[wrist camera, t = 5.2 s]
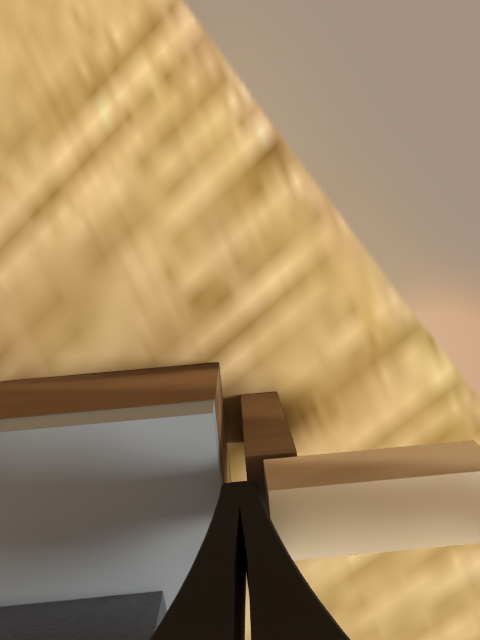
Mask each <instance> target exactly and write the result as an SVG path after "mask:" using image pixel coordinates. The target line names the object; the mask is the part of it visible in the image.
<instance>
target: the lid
mask: <svg viewBox="0 0 480 640" xmlns="http://www.w3.org/2000/svg"><path fill="white" fill-rule="evenodd" d="M222 485H223V476H222V467H221V458H220V449H219V440H218V431H217V422H216V413H215V404H214V400H209V401H198V402H186V403H175V404H164V405H153V406H142V407H131V408H120V409H109V410H97V411H86V412H75V413H64V414H53V415H42V416H31V417H20V418H8V419H0V640H149V639H150V638H151V636H152V635H153V633H154V632H155V630H156V629H157V627H158V626H159V624H160V622H161V621H162V619H163V617H164V616H165V614H166V612H167V611H168V609H169V607H170V606H171V604H172V602H173V600H174V599H175V597H176V595H177V593H178V592H179V590H180V588H181V586H182V584H183V582H184V580H185V579H186V577H187V575H188V573H189V571H190V569H191V567H192V565H193V563H194V560H195V558H196V556H197V554H198V551H199V549H200V547H201V545H202V543H203V540H204V538H205V536H206V533H207V530H208V528H209V525H210V523H211V520H212V517H213V514H214V511H215V508H216V505H217V502H218V499H219V495H220V490H221V486H222Z"/></svg>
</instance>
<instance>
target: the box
mask: <svg viewBox="0 0 480 640" xmlns="http://www.w3.org/2000/svg"><path fill="white" fill-rule="evenodd" d="M209 400H214V404H215V413H216V422H217V431H218V440H219V449H220V458H221V467H222V476H223V484H224V483H231V474H230V464H229V454H228V445H227V435H226V425H225V416H224V406H223V396H222V387H221V377H220V367H219V362H218V363H207V364H195V365H184V366H173V367H161V368H150V369H139V370H127V371H116V372H104V373H93V374H82V375H70V376H59V377H48V378H36V379H25V380H14V381H2V382H0V419H8V418H20V417H31V416H42V415H53V414H64V413H75V412H86V411H97V410H109V409H120V408H131V407H142V406H153V405H164V404H175V403H186V402H198V401H209ZM241 406H242V420H243V434H244V448H245V461H246V472H247V481H252V480H255V481H256V482H257V483H258V487H259V491H260V494H261V497H262V500H263V502H264V505H265V507H266V510H267V503H266V489H265V476H264V462H263V460H266V459H277V458H287V457H297V451H296V448H295V445H294V442H293V439H292V436H291V433H290V430H289V427H288V424H287V421H286V418H285V415H284V412H283V409H282V406H281V403H280V400H279V397H278V394H277V392H268V393H257V394H246V395H241Z"/></svg>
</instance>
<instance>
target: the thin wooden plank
mask: <svg viewBox="0 0 480 640" xmlns="http://www.w3.org/2000/svg"><path fill="white" fill-rule="evenodd" d="M263 462H264V476H265V489H266V503H267V512H268V514H269V516H270V519H271V521H272V523H273V525H274V527H275V529H276V531H277V533H278V535H279V537H280V539H281V540H282V542H283V544H284V546H285V548H286V549H287V551H288V553H289V555H290V556H291V558H292V560H293V561H297V560H307V559H318V558H328V557H338V556H349V555H359V554H369V553H380V552H390V551H400V550H411V549H421V548H431V547H442V546H452V545H462V544H473V543H480V446H479V445H478V444H477V443H476V442H474V441H473V440H472V441H461V442H450V443H439V444H428V445H418V446H407V447H396V448H385V449H374V450H363V451H353V452H342V453H331V454H320V455H309V456H298V457H287V458H277V459H266V460H263Z"/></svg>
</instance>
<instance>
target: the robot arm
mask: <svg viewBox="0 0 480 640" xmlns="http://www.w3.org/2000/svg"><path fill="white" fill-rule="evenodd" d="M246 573H247V581H248V588H249V597H250V619H251V640H350V639H349V638H348V636H347V635H346V634H345V633H344V632H343V630H342V629H341V628H340V626H339V625H338V624H337V623H336V621H335V620H334V619H333V617H332V616H331V615H330V613H329V612H328V611H327V610H326V608H325V607H324V606H323V604H322V603H321V602H320V600H319V599H318V598H317V596H316V595H315V593H314V592H313V590H312V589H311V588H310V586H309V585H308V583H307V582H306V580H305V579H304V577H303V576H302V574H301V573H300V571H299V569H298V568H297V566H296V565H295V563H294V561H293V560H292V558H291V556H290V555H289V553H288V551H287V549H286V548H285V546H284V544H283V542H282V540H281V539H280V537H279V535H278V533H277V531H276V529H275V527H274V525H273V523H272V521H271V519H270V516H269V514H268V512H267V510H266V507H265V505H264V502H263V500H262V497H261V494H260V491H259V487H258V483H257V482H256V481H255V480H252V481H241V482H231V483H224V484H223V485H222V486H221V490H220V495H219V499H218V502H217V505H216V508H215V511H214V514H213V517H212V520H211V523H210V525H209V528H208V530H207V533H206V536H205V538H204V540H203V543H202V545H201V547H200V549H199V551H198V554H197V556H196V558H195V560H194V563H193V565H192V567H191V569H190V571H189V573H188V575H187V577H186V579H185V580H184V582H183V584H182V586H181V588H180V590H179V592H178V593H177V595H176V597H175V599H174V600H173V602H172V604H171V606H170V607H169V609H168V611H167V612H166V614H165V616H164V617H163V619H162V621H161V622H160V624H159V626H158V627H157V629H156V630H155V632H154V633H153V635H152V636H151V638H150V639H149V640H245V598H246Z"/></svg>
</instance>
